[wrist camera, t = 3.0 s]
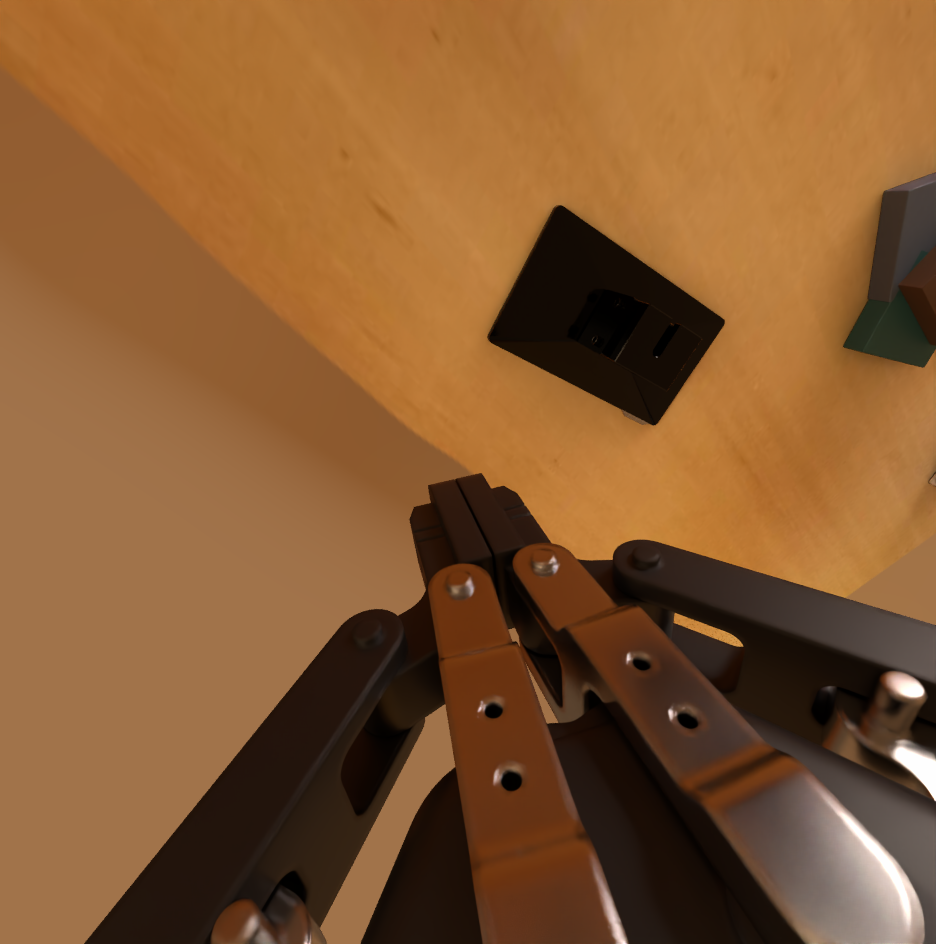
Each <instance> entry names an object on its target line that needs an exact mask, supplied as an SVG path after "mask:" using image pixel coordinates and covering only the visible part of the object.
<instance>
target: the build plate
mask: <svg viewBox="0 0 936 944" xmlns="http://www.w3.org/2000/svg"><path fill="white" fill-rule="evenodd" d="M724 324H725V321H724V319H722V318H721V317H720V316H718V315H717V314H715V313H714V312H713V311H711V310H710V309H708V308H707V307H705V306H704V305H703V304H701V303H700V302H698V301H697V300H696V299H694V298H693V297H691V296H690V295H688V294H687V293H686V292H684V291H683V290H681V289H680V288H678V287H677V286H676V285H674V284H673V283H671V282H670V281H669V280H667V279H666V278H664V277H663V276H661V275H660V274H659V273H657V272H656V271H654V270H653V269H651V268H650V267H649V266H647V265H646V264H644V263H643V262H642V261H640V260H639V259H637V258H636V257H634V256H633V255H632V254H630V253H629V252H627V251H626V250H625V249H623V248H622V247H620V246H619V245H617V244H616V243H615V242H613V241H612V240H610V239H609V238H607V237H606V236H605V235H603V234H602V233H600V232H599V231H598V230H596V229H595V228H593V227H592V226H590V225H589V224H588V223H586V222H585V221H583V220H582V219H581V218H579V217H578V216H576V215H575V214H573V213H572V212H571V211H569V210H568V209H566V208H565V207H563V206H561V205H558V206H555V207H554V208H553V210H552V212H551V214H550V216H549V218H548V220H547V222H546V224H545V225H544V227H543V229H542V231H541V233H540V235H539V237H538V239H537V241H536V243H535V245H534V247H533V249H532V251H531V253H530V254H529V256H528V258H527V260H526V262H525V264H524V266H523V268H522V270H521V272H520V274H519V276H518V278H517V280H516V282H515V283H514V285H513V287H512V289H511V291H510V293H509V295H508V297H507V299H506V301H505V303H504V305H503V307H502V309H501V311H500V312H499V314H498V316H497V318H496V320H495V322H494V324H493V326H492V328H491V330H490V332H489V334H488V336H487V338H488V340H489V341H490V342H491V343H493V344H495V345H496V346H498V347H500V348H502V349H504V350H506V351H508V352H510V353H512V354H514V355H516V356H518V357H520V358H522V359H524V360H526V361H528V362H530V363H532V364H534V365H536V366H538V367H539V368H541V369H543V370H545V371H547V372H549V373H551V374H553V375H555V376H557V377H559V378H561V379H563V380H565V381H567V382H569V383H571V384H573V385H575V386H577V387H579V388H581V389H583V390H584V391H586V392H588V393H590V394H592V395H594V396H596V397H598V398H600V399H602V400H604V401H606V402H608V403H610V404H612V405H614V406H616V407H618V408H620V409H621V410H622V412H623V414H624V416H626V417H628V418H630V419H632V420H634V421H636V422H638V423H640V424H642V425H644V424H651V425H656V424H657V423H658V422H659V420H660V419H661V417H662V416H663V414H664V413H665V411H666V410H667V409H668V407H669V406H670V404H671V403H672V401H673V400H674V398H675V397H676V395H677V394H678V392H679V391H680V389H681V388H682V386H683V385H684V383H685V382H686V380H687V379H688V377H689V376H690V375H691V373H692V372H693V370H694V369H695V367H696V366H697V364H698V363H699V361H700V360H701V358H702V357H703V355H704V354H705V352H706V351H707V349H708V348H709V346H710V345H711V343H712V342H713V341H714V339H715V338H716V336H717V335H718V333H719V332H720V330H721V329H722V327H723V326H724Z"/></svg>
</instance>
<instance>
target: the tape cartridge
mask: <svg viewBox="0 0 936 944" xmlns="http://www.w3.org/2000/svg"><path fill="white" fill-rule="evenodd" d="M929 483H930V484H932V485H934V486H936V473H935V475H934V476H933V477H932V478H931V480H930V481H929Z"/></svg>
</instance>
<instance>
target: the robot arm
mask: <svg viewBox="0 0 936 944" xmlns="http://www.w3.org/2000/svg"><path fill="white" fill-rule="evenodd" d="M428 489H429V495H430V500H431V503H429V504H425V505H421V506H416V507H414V509H413V511H412V514H411V517H410V524H411V529H412V534H413V539H414V544H415V548H416V553H417V558H418V563H419V566H420V570H421V573H422V577H423V581H424V585H425V588H426V591H425V593H424V595H423V597H422V599H421V600H420V601H419V602H418V603H417V604H416V605H415V606H413V607H412V608H411V609H409V610H407V611H406V612H404V613H402V614H400V615H399V616H397V615H396V614H394V613H393V612H390V611H388V610H383V609H374V610H368V611H364V612H361V613H358V614H356V615H354V616H353V617H351V618H349V619H348V620H347V621H346V622H345V623H343V625H341V627H340V628H339V629H338V630H337V632H336V633H335V634H334V635H333V636H332V638H331V639H330V640H329V641H328V643H327V644H326V645H325V646H324V648H323V649H322V650H321V651H320V652H319V654H318V655H317V656H316V657H315V659H314V660H313V661H312V662H311V664H310V665H309V666H308V667H307V669H306V670H305V671H304V672H303V674H302V675H301V676H300V677H299V679H298V680H297V681H296V682H295V683H294V685H293V686H292V687H291V688H290V690H289V691H288V692H287V693H286V695H285V696H284V697H283V698H282V699H281V701H280V702H279V703H278V704H277V706H276V707H275V708H274V710H273V711H272V712H271V713H270V714H269V716H268V717H267V718H266V719H265V721H264V722H263V723H262V724H261V725H260V727H259V728H258V729H257V730H256V732H255V733H254V734H253V735H252V737H251V738H250V739H249V740H248V742H247V743H246V744H245V745H244V746H243V748H242V749H241V750H240V752H239V753H238V754H237V755H236V756H235V758H234V759H233V760H232V761H231V763H230V764H229V765H228V766H227V768H226V769H225V770H224V771H223V772H222V774H221V775H220V776H219V778H218V779H217V780H216V781H215V783H214V784H213V785H212V786H211V788H210V789H209V790H208V791H207V792H206V794H205V795H204V796H203V797H202V799H201V800H200V801H199V802H198V803H197V805H196V806H195V807H194V808H193V810H192V811H191V812H190V813H189V815H188V816H187V817H186V818H185V819H184V821H183V822H182V823H181V824H180V826H179V827H178V828H177V829H176V831H175V832H174V833H173V834H172V836H171V837H170V838H169V839H168V841H167V842H166V843H165V844H164V845H163V847H162V848H161V849H160V850H159V852H158V853H157V854H156V855H155V857H154V858H153V859H152V860H151V862H150V863H149V864H148V865H147V867H146V868H145V869H144V870H143V871H142V873H141V874H140V875H139V877H138V878H137V879H136V880H135V881H134V883H133V884H132V885H131V886H130V888H129V889H128V890H127V891H126V892H125V894H124V895H123V896H122V898H121V899H120V900H119V901H118V902H117V904H116V905H115V906H114V907H113V909H112V910H111V911H110V912H109V914H108V915H107V916H106V917H105V918H104V920H103V921H102V922H101V923H100V925H99V926H98V927H97V928H96V930H95V931H94V932H93V933H92V935H91V936H90V937H89V938H88V940H87V941H86V942H85V943H84V944H327V942H326V939H325V937H324V935H323V933H322V931H321V930H320V927H321V925H322V923H323V921H324V919H325V917H326V915H327V913H328V911H329V909H330V907H331V906H332V904H333V902H334V900H335V898H336V896H337V894H338V892H339V890H340V888H341V886H342V884H343V882H344V880H345V878H346V876H347V874H348V873H349V871H350V869H351V867H352V865H353V863H354V861H355V859H356V857H357V855H358V853H359V851H360V849H361V847H362V845H363V844H364V842H365V840H366V838H367V836H368V834H369V832H370V830H371V828H372V826H373V824H374V822H375V821H376V819H377V817H378V815H379V813H380V811H381V809H382V807H383V805H384V803H385V801H386V799H387V797H388V795H389V793H390V791H391V789H392V788H393V786H394V784H395V782H396V780H397V778H398V776H399V774H400V772H401V770H402V768H403V766H404V764H405V763H406V761H407V759H408V757H409V755H410V753H411V751H412V749H413V747H414V745H415V743H416V741H417V739H418V737H419V735H420V734H421V731H422V729H423V727H424V723H425V717H426V716H428V715H429V714H431V713H432V712H434V711H435V710H437V709H438V708H440V707H441V706H442V705H444V704H445V705H446V711H447V717H448V723H449V729H450V736H451V741H452V748H453V755H454V761H455V768H453V769H452V770H451V771H450V772H449V773H447V774H446V775H445V776H444V777H443V778H442V779H441V780H440V781H439V782H438V783H437V784H436V785H435V787H434V788H433V789H432V790H431V791H430V793H429V794H428V796H427V797H426V798H425V800H424V801H423V803H422V805H421V806H420V808H419V810H418V812H417V813H416V815H415V817H414V819H413V821H412V824H411V826H410V828H409V831H408V833H407V835H406V838H405V840H404V842H403V845H402V847H401V849H400V852H399V854H398V857H397V859H396V861H395V864H394V866H393V868H392V871H391V873H390V875H389V878H388V880H387V882H386V885H385V887H384V889H383V892H382V894H381V897H380V899H379V901H378V904H377V906H376V908H375V911H374V913H373V915H372V918H371V920H370V923H369V925H368V927H367V929H366V932H365V934H364V937H363V939H362V941H361V944H936V625H933V624H930V623H926V622H923V621H920V620H916V619H913V618H910V617H906V616H903V615H900V614H896V613H893V612H890V611H886V610H883V609H880V608H876V607H873V606H869V605H866V604H863V603H859V602H856V601H853V600H849V599H846V598H843V597H839V596H836V595H833V594H829V593H826V592H823V591H819V590H816V589H813V588H809V587H806V586H803V585H799V584H796V583H793V582H789V581H786V580H783V579H779V578H776V577H773V576H769V575H766V574H763V573H759V572H756V571H752V570H749V569H746V568H742V567H739V566H736V565H732V564H729V563H726V562H722V561H719V560H716V559H712V558H709V557H706V556H702V555H699V554H696V553H692V552H689V551H686V550H682V549H679V548H676V547H672V546H669V545H666V544H662V543H659V542H655V541H650V540H633V541H628V542H625V543H623V544H621V545H620V546H618V547H617V548H616V550H615V551H614V554H613V560H593V561H590V560H579V559H576V558H575V557H574V555H573V554H572V553H571V552H570V551H569V550H567V549H566V548H564V547H562V546H560V545H557V544H552V543H551V542H550V540H549V539H548V537H547V536H546V535H545V533H544V532H543V530H542V529H541V527H540V526H539V524H538V523H537V522H536V520H535V519H534V517H533V516H532V515H531V514H530V511H529V510H528V509H527V507H526V506H525V505H524V503H523V501H522V500H521V498H520V497H519V495H518V494H517V493H516V492H514V491H512V490H510V489H508V488H507V487H505V486H501V487H496V488H492V489H491V488H490V486H489V484H488V483H487V481H486V479H485V478H484V476H483V475H482V473H479V474H475V475H470V476H466V477H462V478H457V479H456V480H449V481H445V482H440V483H436V484H432V485H428ZM675 613H677V614H680V615H683V616H685V617H688V618H691V619H693V620H696V621H699V622H701V623H704V624H707V625H709V626H712V627H715V628H718V629H720V630H723V631H726V632H728V633H730V634H732V635H734V636H735V637H737V638H738V639H739V640H740V641H741V643H742V644H743V646H744V647H737V646H733V645H730V644H727V643H725V642H722V641H719V640H717V639H714V638H711V637H709V636H706V635H704V634H701V633H698V632H696V631H693V630H691V629H688V628H685V627H683V626H680V625H678V624H675V623H673V622H674V614H675ZM512 628H515V629H516V631H517V633H518V635H519V642H520V647H519V645H518V643H517V642H516V641H515V642H512V639H511V636H510V633H509V631H508V629H512ZM526 664H527V666H528V668H529V670H530V672H531V673H532V675H533V677H534V679H535V680H536V682H537V684H538V686H539V688H540V690H541V691H542V693H543V695H544V697H545V699H546V700H547V702H548V704H549V706H550V707H551V709H552V711H553V713H554V715H555V717H556V718H557V720H558V723H549V724H547V723H546V720H545V718H544V715H543V712H542V709H541V706H540V703H539V701H538V697H537V695H536V692H535V689H534V686H533V683H532V680H531V677H530V675H529V672H528V669H527V666H526Z"/></svg>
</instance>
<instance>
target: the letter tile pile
mask: <svg viewBox="0 0 936 944" xmlns="http://www.w3.org/2000/svg"><path fill="white" fill-rule="evenodd" d="M868 299H869V300H868V302H867V304H866V305H865V307H864V309H863V311H862V313H861V315H860V316H859V318H858V320H857V322H856V324H855V326H854V327H853V329H852V331H851V333H850V335H849V337H848V338H847V340H846V342H845V344H844V346H843V347H845V348H848V349H852V350H856V351H859V352H863V353H867V354H871V355H875V356H879V357H883V358H887V359H891V360H895V361H899V362H902V363H906V364H910V365H914V366H918V367H922V368H923V367H925V365H926V364H927V362H928V361H929V359H930V357H931V356H932V354H933V353H934V351H935V349H936V172H935V173H933V174H930V175H927V176H924V177H922V178H919V179H916V180H913V181H911V182H908V183H905V184H903V185H900V186H897V187H894V188H892V189H889V190H886V191H884V193H883V200H882V207H881V213H880V220H879V226H878V233H877V240H876V246H875V253H874V260H873V266H872V273H871V280H870V286H869V293H868Z"/></svg>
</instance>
